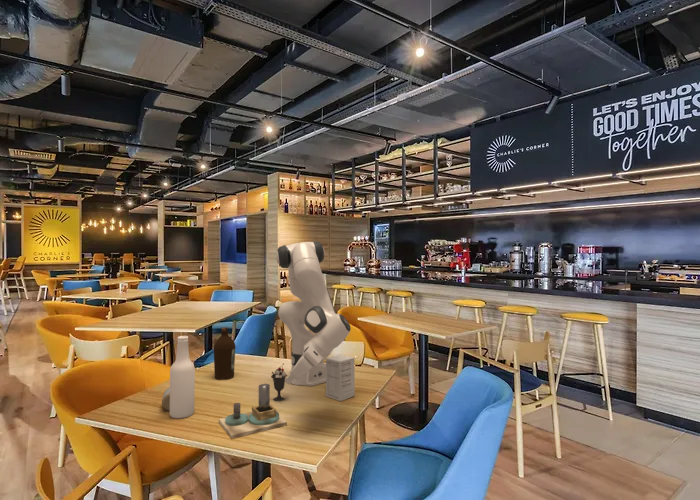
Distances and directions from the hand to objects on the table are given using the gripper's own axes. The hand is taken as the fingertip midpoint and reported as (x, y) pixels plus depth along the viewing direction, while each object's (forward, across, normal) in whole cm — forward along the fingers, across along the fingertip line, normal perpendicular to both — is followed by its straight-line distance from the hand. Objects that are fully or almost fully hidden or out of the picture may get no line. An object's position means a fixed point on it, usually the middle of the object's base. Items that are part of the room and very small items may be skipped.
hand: (289, 378), depth 145 cm
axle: (+16, 0, +3) cm, 17 cm away
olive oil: (+42, -53, -19) cm, 70 cm away
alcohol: (+42, -6, -19) cm, 46 cm away
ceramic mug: (+46, -13, -23) cm, 53 cm away
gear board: (+21, +2, +2) cm, 21 cm away
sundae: (+18, -24, +5) cm, 30 cm away
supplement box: (0, -28, +24) cm, 37 cm away
